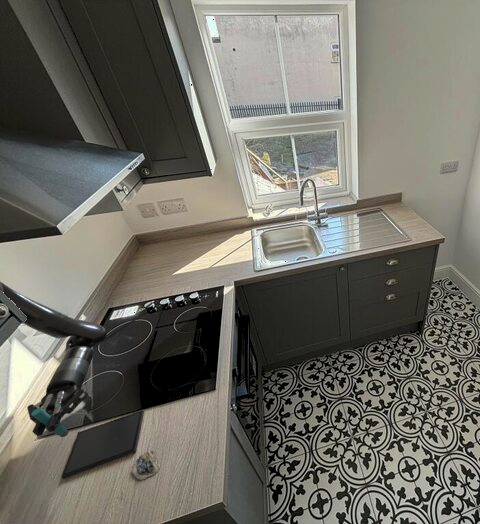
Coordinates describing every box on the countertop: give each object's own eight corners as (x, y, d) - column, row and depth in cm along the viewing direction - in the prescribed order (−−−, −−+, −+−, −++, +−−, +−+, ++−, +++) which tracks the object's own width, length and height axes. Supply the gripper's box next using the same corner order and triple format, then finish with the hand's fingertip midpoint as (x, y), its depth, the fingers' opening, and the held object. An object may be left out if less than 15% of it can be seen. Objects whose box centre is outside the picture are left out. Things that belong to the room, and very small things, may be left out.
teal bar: (59, 439, 80) (29, 416, 73) (62, 432, 82) (33, 409, 75) (67, 436, 81) (39, 413, 74) (70, 429, 82) (42, 406, 76)
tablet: (63, 479, 81) (60, 477, 80) (79, 433, 91) (77, 432, 90) (136, 451, 86) (134, 450, 85) (144, 411, 96) (142, 409, 95)
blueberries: (147, 448, 86) (144, 445, 85) (168, 457, 84) (165, 454, 83) (126, 474, 81) (123, 471, 80) (148, 484, 79) (145, 481, 78)
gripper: (33, 377, 84) (-1, 436, 71) (89, 361, 88) (66, 414, 75) (49, 392, 89) (20, 450, 75) (102, 376, 92) (83, 428, 79)
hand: (43, 432), depth 75 cm, fingers closed on teal bar, 2 cm apart
